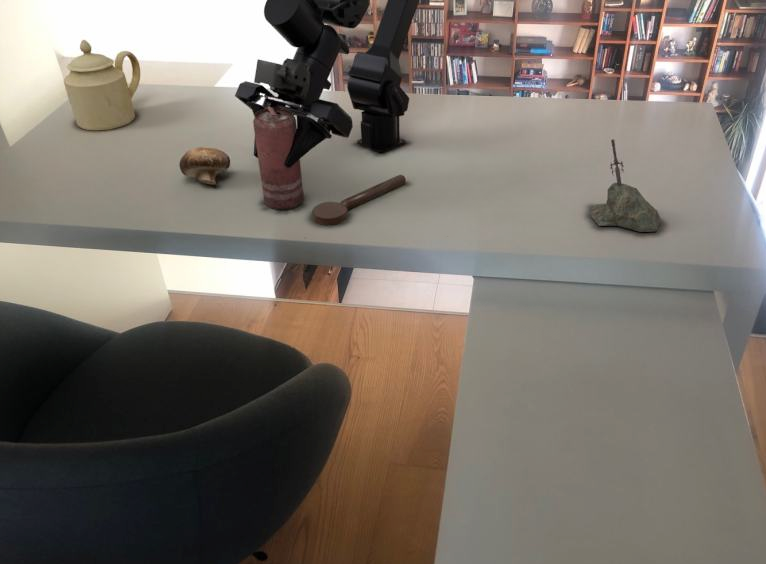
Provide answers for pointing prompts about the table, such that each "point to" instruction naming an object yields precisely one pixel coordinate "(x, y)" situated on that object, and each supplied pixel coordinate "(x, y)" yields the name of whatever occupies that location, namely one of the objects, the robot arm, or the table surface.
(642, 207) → the sword in stone
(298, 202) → the can
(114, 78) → the beige ceramic pot
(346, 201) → the wooden spoon
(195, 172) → the mushroom
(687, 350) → the table surface
